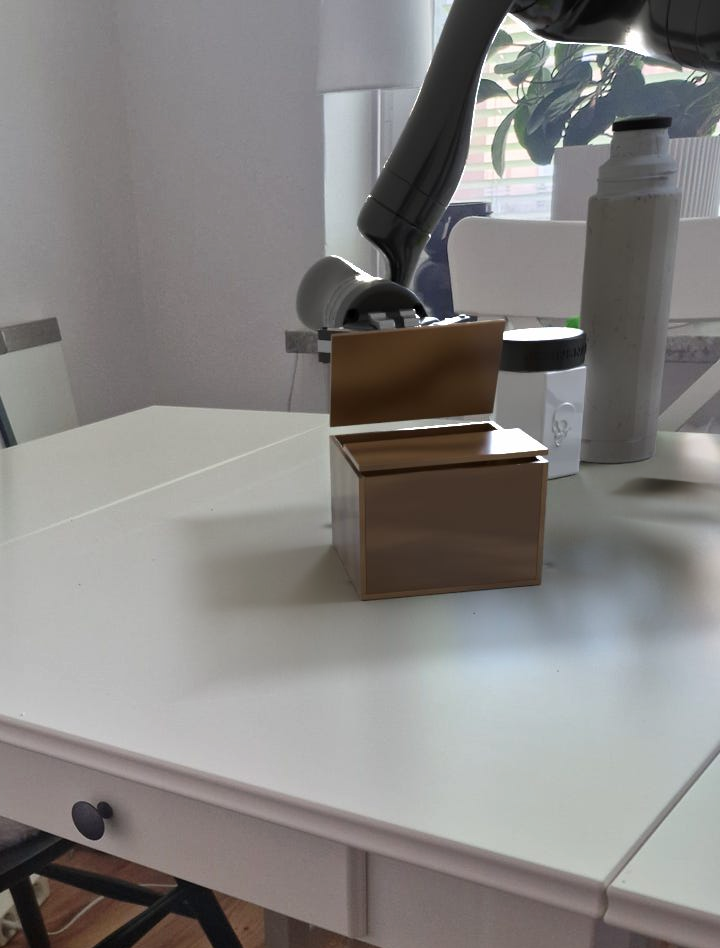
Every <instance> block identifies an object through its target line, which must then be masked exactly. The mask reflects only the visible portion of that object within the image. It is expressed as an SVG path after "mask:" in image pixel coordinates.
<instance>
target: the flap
mask: <svg viewBox="0 0 720 948" xmlns="http://www.w3.org/2000/svg"><path fill="white" fill-rule="evenodd" d="M506 324H507V323H506V320H505V319H493V320H492V319H491V320H482V321H470V322H467V323H456V324H444V325H432V326H420V327H408V328H397V329H385V330H373V331H361V332H350V333H338V334H331V363H330V366H329V367H330V369H329V370H330V371H329V372H330V373H329V376H330V377H329V420H328V421H329V423H328V425H329V428H338V427H339V428H341V427H351V426H363V425H374V424H375V425H376V424H386V423H399V422H410V421H421V420H433V419H444V418H457V417H466V416H478V415H479V416H480V415H490V414H491V413H493V409H494V402H495V395H496V387H497V380H498V373H499V366H500V359H501V352H502V345H503V337H504V332H505V329H506Z"/></svg>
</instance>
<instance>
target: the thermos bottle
mask: <svg viewBox="0 0 720 948" xmlns="http://www.w3.org/2000/svg"><path fill="white" fill-rule="evenodd" d="M672 123H673V117H672V116H660V115H650V116H649V115H648V116H637V117H631V118H624V119H620V120H617V121H613V122H612V123H611V132H612V137H611V140H610V143H609V154H608V155H609V156H608V158H607V159H606V160H605V161H604V162H602V163H601V164H600V165H599V166H598V168H597V177H596V178H595V181H596V189H595V190H596V191H595V192H594V193H592V194H590V195H588V197H587V204H586V205H587V206H586V220H585V235H584V236H585V237H584V250H583V263H582V275H581V289H580V291H581V292H580V305H579V315H580V317H579V329H580V330H583V331H585V332H586V334H587V337H586V343H587V349H586V354H585V362H584V363H583V364H584V365H585V366H586V368H587V370H586V383H585V396H584V409H583V421H582V434H581V447H580V460H579V461H582V462H587V463H597V464H622V463H624V464H625V463H633V462H638V461H643V460H647V459H650V458H652V457H653V456H654V455H655V453H656V447H657V446H656V443H657V437H658V435H657V434H658V427H659V416H660V408H661V407H660V406H661V397H662V389H663V388H662V387H663V379H664V378H663V377H664V370H665V369H664V368H665V361H666V350H667V343H668V342H667V341H668V332H669V323H670V315H671V314H670V313H671V305H672V304H671V303H672V295H673V285H674V276H675V266H676V257H677V249H678V236H679V227H680V220H681V210H682V202H683V201H682V200H683V189H681V188H679V187H676V177H677V172H678V171H679V168H678V167H677V166H678V160H677V159H676V158H674V157H673V156H672V155H670V154H669V144H670V135H669V128H671V127H672Z"/></svg>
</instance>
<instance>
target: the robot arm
mask: <svg viewBox="0 0 720 948" xmlns="http://www.w3.org/2000/svg"><path fill="white" fill-rule="evenodd" d="M507 16H509V17H510V19H512V20H513V21H514V22H515V23H517V24H518V25H519V26H520V27H521V28H522V29H523V30H524V31H526V32H527V33H528V34H530V35H532V36H534V37H536V38H538V39H540V40H543V41H546V42H552V43H560V44H580V45H583V44H584V45H601V46H612V47H618V48H623V49H627V50H629V51H632V52H633V53H634V52H635V53H637V54H639V55H642V56H645V57H649V58H652V59H655V60H660V61H663V62H667V63H669V64H673V65H675V66H678V67H682V68H684V69H688V70H692V71H697V72H701V73H705V74H709V75H713V76H718V77H720V0H453V1H452V4H451V6H450V9H449V11H448V14H447V17H446V19H445V22H444V24H443V27H442V30H441V32H440V34H439V38H438V41H437V44H436V46H435V49H434V52H433V54H432V57H431V59H430V63H429V65H428V68H427V71H426V74H425V76H424V79H423V81H422V84H421V86H420V90H419V92H418V94H417V97H416V99H415V102H414V104H413V107H412V109H411V112H410V114H409V116H408V118H407V121H406V122H405V125H404V126H403V129H402V131H401V132H400V135H399V137H398V139H397V141H396V143H395V146H394V147H393V149H392V151H391V153H390V155H389V156H388V159H387V160H386V162H385V164H384V165H383V168H382V170H381V171H380V173H379V175H378V177H377V178H376V181H375V183H374V185H373V187H372V188H371V190H370V191H369V195H368V196H367V198H366V199H365V202H364V203H363V205H362V207H361V209H360V211H359V214H358V216H357V220H356V229H357V230H358V232H359V234H360V235H361V237H363V239H365V240H366V241H367V243H368V244H369V245H370V246H372V247H373V249H375V251H377V253H378V254H379V255H380V256H381V258H382V259H383V261H384V275H383V277H374V276H371V275H370V274H368V273H366V272H364V271H363V270H361V269H360V268H358V267H356V266H355V265H353V263H351V262H349V261H348V260H345V259H344V258H342V257H340V256H337V255H327V256H325V257H322V258H319V259H318V260H317V261H316V262H314V263H313V264H312V265H311V266H310V267H309V268H308V269H307V271H306V272H305V273H304V274H303V276H302V278H301V280H300V282H299V284H298V286H297V287H298V288H297V291H296V295H295V312H296V316H297V319H298V321H299V323H300V324H301V326H303V327H304V328H306V329H308V331H311V332H313V333H314V334H316V335H317V360H318V361H317V362H318V363H322V364H326V365H327V364H331V334H338V333H350V332H361V331H373V330H385V329H397V328H408V327H420V326H432V325H444V324H456V323H467V322H471V316H468V315H466V314H459V315H458V316H454V317H452V318H445V319H444V320H441V321H440V320H439V319H438V318H437V317H429V315H428V312H427V310H426V308H425V306H424V304H423V303H422V301H421V300H420V298H419V297H418V296H417V295H416V294H415V293H414V292H413V291H412V290H410V287H411V283H412V280H413V277H414V275H415V271H416V269H417V266H418V263H419V261H420V259H421V256H422V254H423V252H424V251H425V248H426V246H427V244H428V242H429V241H430V239H431V235H433V234H434V231H435V229H436V228H437V227H438V224H440V221H441V219H442V217H443V216H444V214H445V213H446V211H447V208H448V207H449V205H450V204H451V202H452V200H453V198H454V196H455V193H456V192H457V190H458V187H459V185H460V183H461V181H462V178H463V176H464V173H465V172H464V171H465V168H466V165H467V162H468V157H469V152H470V147H471V139H472V133H473V125H474V119H475V111H476V110H475V109H476V104H477V97H478V91H479V87H480V82H481V78H482V74H483V70H484V67H485V63H486V60H487V57H488V54H489V52H490V49H491V47H492V45H493V42H494V40H495V38H496V36H497V33H498V32H499V30H500V28H501V27H502V24H503V23H504V21H505V20H506V19H507Z"/></svg>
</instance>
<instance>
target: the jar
mask: <svg viewBox="0 0 720 948" xmlns="http://www.w3.org/2000/svg"><path fill="white" fill-rule="evenodd" d="M586 337H587V334H586V332H585V331H583V330H580V329H572V328H565V327H536V328H535V327H534V328H523V329H514V330H509V331H508V330H507V331H504V337H503V345H502V352H501V359H500V366H499V373H498V380H497V387H496V395H495V402H494V409H493V413H491V414H489V422H490V421H493V422H494V423H495V424H497V425H498V426H500V427H501V428H502V429H504V430H511V429H520V430H521V431H522V432H524V433H525V434H527V435H528V436H530V437H531V438H533V439H534V440H536V441H537V442H538V443H540V444H541V445H543V446H544V447H546V448H547V449H548V455H545V456H541V457H543V458H544V459H545V460H547V461H548V462H549V466H548V481H549V480H554V479H558V478H563V477H569V476H572V475H576V474H578V473H579V471H580V461H581V460H580V447H581V434H582V421H583V409H584V396H585V383H586V370H587V368H586V366H585V365H584V364H583V363H584V362H585V354H586V349H587V343H586Z"/></svg>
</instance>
